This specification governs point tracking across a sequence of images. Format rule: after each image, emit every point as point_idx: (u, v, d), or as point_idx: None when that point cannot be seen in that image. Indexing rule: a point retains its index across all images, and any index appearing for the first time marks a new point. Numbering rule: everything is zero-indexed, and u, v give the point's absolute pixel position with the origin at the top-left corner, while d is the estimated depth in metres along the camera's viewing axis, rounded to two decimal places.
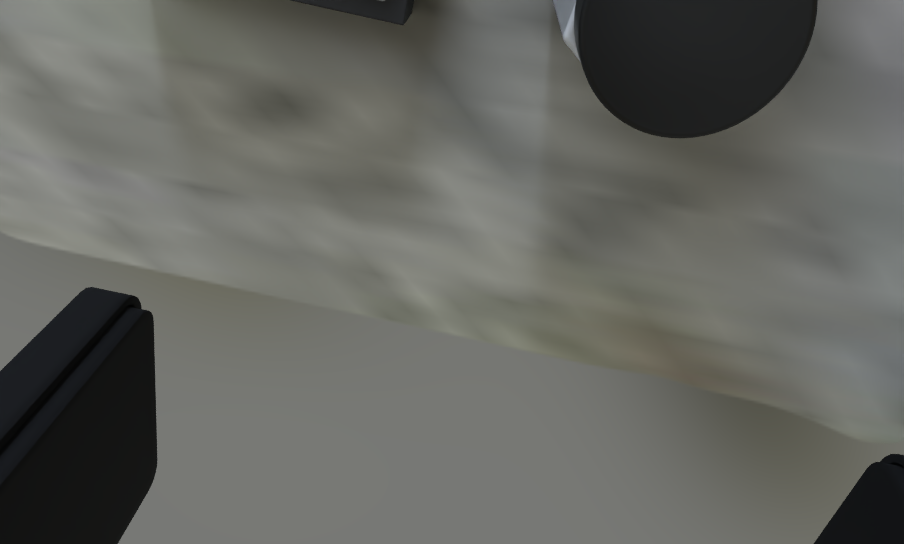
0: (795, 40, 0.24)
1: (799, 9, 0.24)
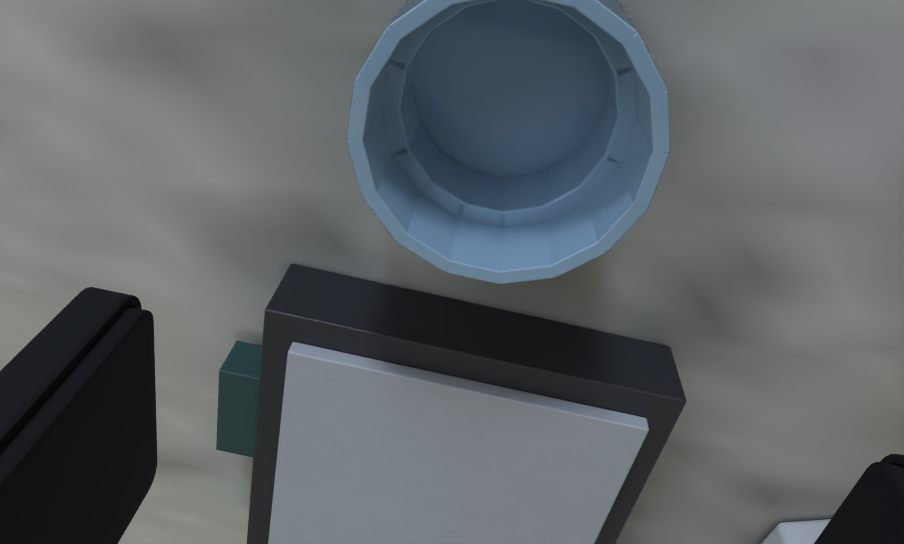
0: None
1: None
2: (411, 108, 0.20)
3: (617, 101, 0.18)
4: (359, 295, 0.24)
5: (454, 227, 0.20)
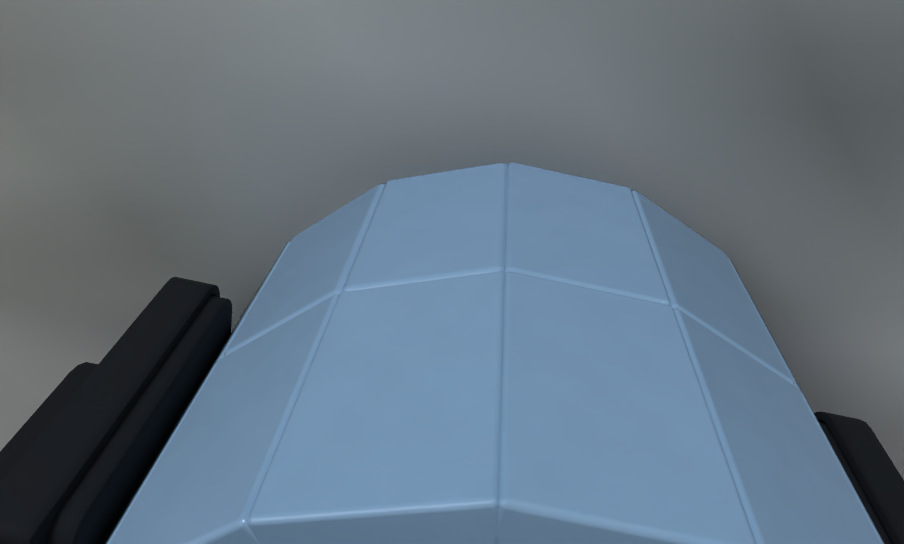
0: None
1: None
2: None
3: None
4: None
5: None
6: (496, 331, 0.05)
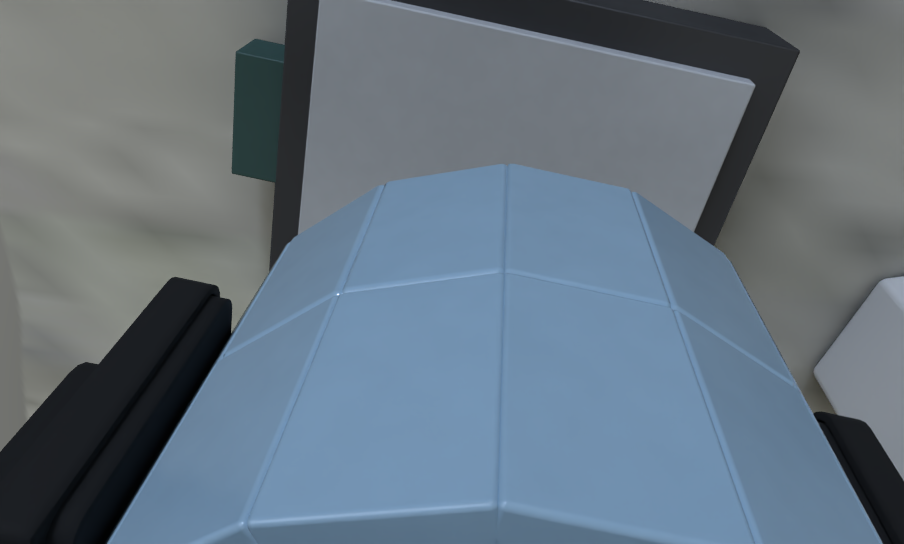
0: None
1: None
2: None
3: None
4: None
5: None
6: (496, 333, 0.05)
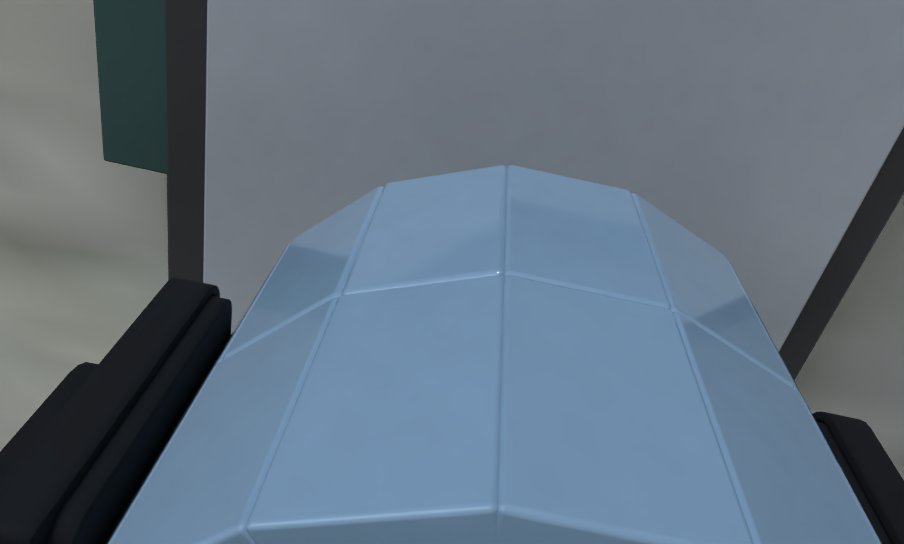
0: None
1: None
2: None
3: None
4: None
5: None
6: (495, 335, 0.05)
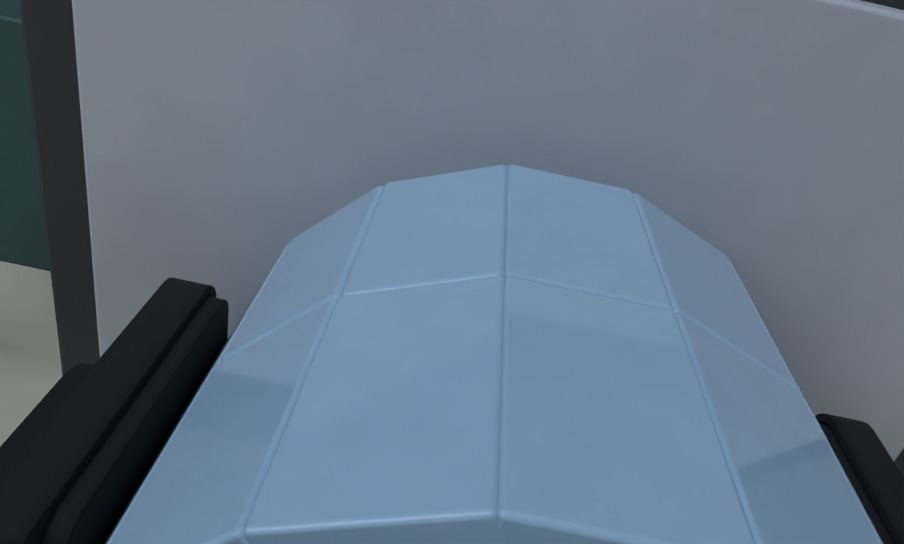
0: None
1: None
2: None
3: None
4: None
5: None
6: (496, 337, 0.05)
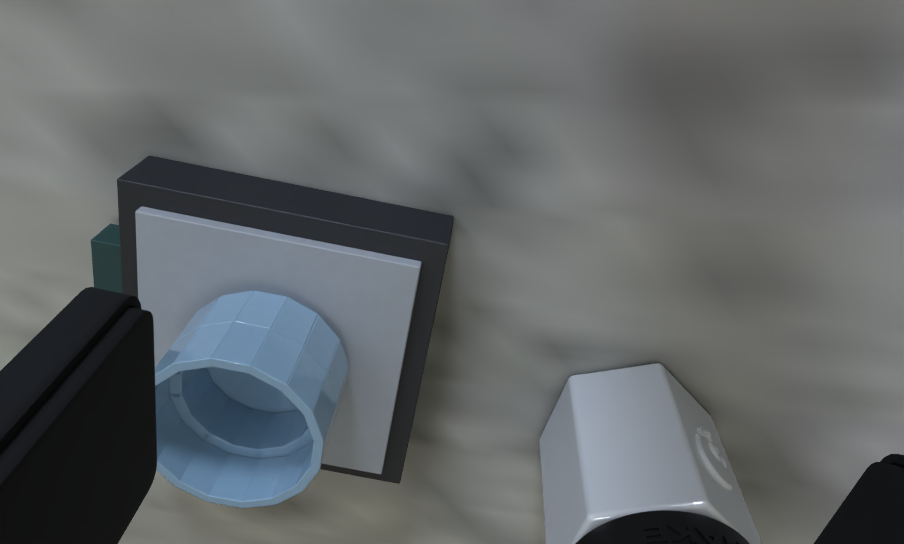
0: None
1: None
2: (199, 381, 0.31)
3: None
4: (199, 175, 0.31)
5: (223, 463, 0.30)
6: (224, 334, 0.27)
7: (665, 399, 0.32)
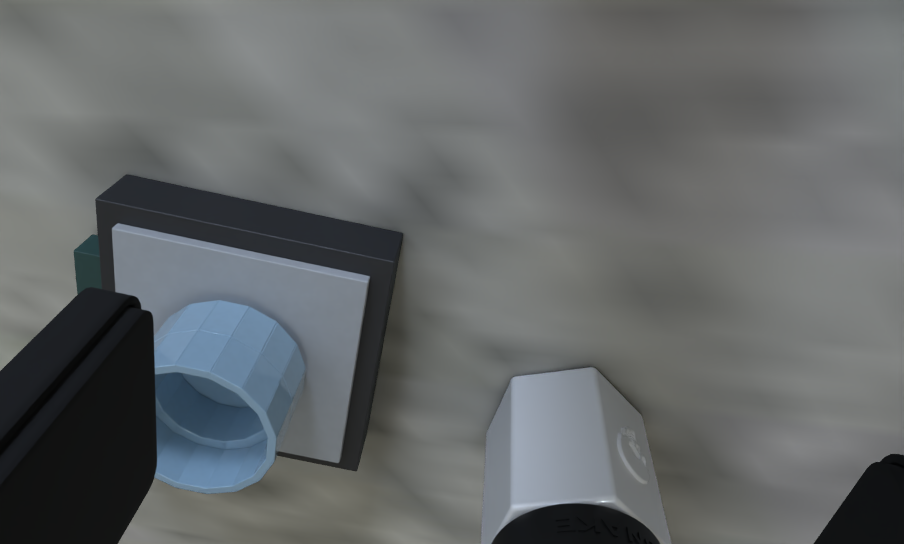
0: None
1: None
2: (171, 379, 0.34)
3: None
4: (171, 194, 0.34)
5: (191, 453, 0.34)
6: (189, 342, 0.30)
7: (593, 401, 0.36)
